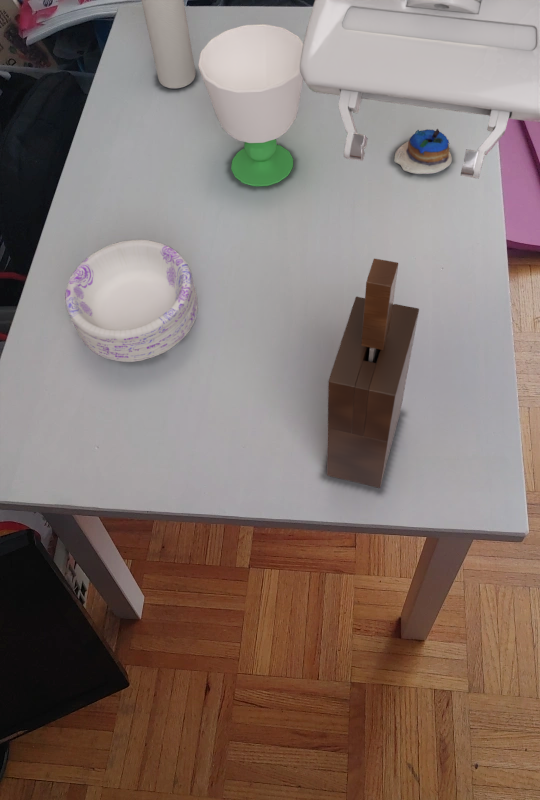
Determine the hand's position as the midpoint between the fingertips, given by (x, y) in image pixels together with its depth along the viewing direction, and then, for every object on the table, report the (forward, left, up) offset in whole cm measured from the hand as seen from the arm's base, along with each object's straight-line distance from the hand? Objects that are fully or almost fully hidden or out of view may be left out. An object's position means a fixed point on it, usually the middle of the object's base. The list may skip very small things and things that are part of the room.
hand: (410, 167), depth 56 cm
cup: (+17, -37, -30) cm, 51 cm away
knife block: (+2, +9, -30) cm, 31 cm away
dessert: (-6, -38, -30) cm, 49 cm away
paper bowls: (+30, -7, -30) cm, 43 cm away
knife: (+2, +9, -20) cm, 22 cm away
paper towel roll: (+32, -58, -30) cm, 73 cm away
